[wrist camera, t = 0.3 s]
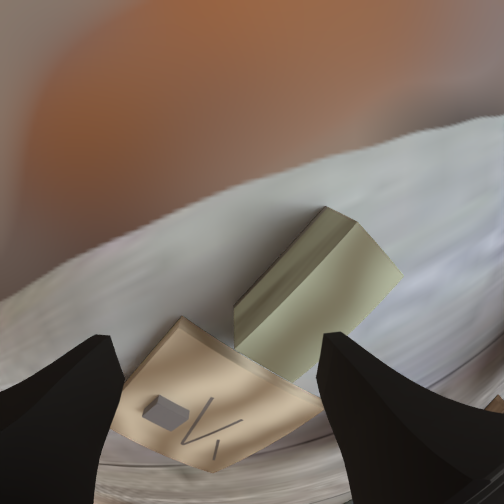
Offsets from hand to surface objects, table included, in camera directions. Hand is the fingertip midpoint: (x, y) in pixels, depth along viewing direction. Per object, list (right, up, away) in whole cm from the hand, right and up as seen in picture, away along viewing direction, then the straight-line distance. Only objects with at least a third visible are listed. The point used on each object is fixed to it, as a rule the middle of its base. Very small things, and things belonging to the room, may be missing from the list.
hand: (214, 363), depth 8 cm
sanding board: (-4, -12, +14) cm, 18 cm away
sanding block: (+5, +2, +10) cm, 11 cm away
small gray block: (-6, -10, +11) cm, 16 cm away
